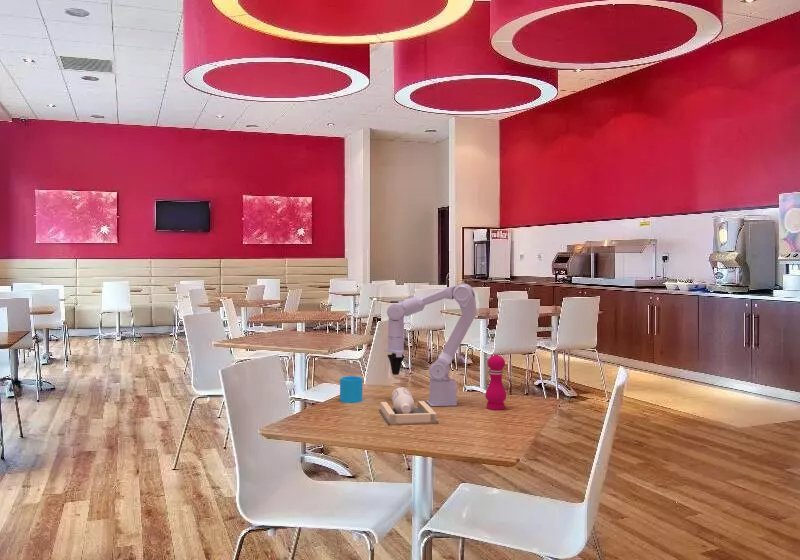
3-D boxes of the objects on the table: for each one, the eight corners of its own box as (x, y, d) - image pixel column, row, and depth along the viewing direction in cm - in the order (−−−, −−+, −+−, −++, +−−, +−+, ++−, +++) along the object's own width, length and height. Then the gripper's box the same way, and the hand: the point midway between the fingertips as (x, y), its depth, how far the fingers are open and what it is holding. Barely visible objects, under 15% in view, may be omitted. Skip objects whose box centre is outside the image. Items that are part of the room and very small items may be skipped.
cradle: (425, 409, 235) (425, 400, 235) (438, 423, 215) (438, 413, 215) (378, 410, 232) (379, 402, 232) (388, 425, 212) (388, 415, 212)
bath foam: (393, 408, 235) (397, 422, 216) (389, 389, 235) (393, 401, 215) (412, 404, 236) (418, 418, 216) (409, 385, 236) (414, 396, 216)
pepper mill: (505, 406, 241) (506, 349, 241) (506, 410, 234) (507, 352, 234) (484, 405, 242) (485, 349, 242) (485, 410, 235) (486, 352, 234)
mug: (359, 403, 244) (360, 380, 244) (337, 402, 245) (337, 379, 245) (366, 396, 256) (366, 374, 256) (344, 395, 257) (345, 374, 257)
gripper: (381, 334, 253) (381, 371, 253) (388, 339, 239) (387, 378, 239) (400, 334, 254) (400, 370, 254) (408, 339, 240) (407, 377, 240)
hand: (395, 374), depth 247 cm, fingers closed
